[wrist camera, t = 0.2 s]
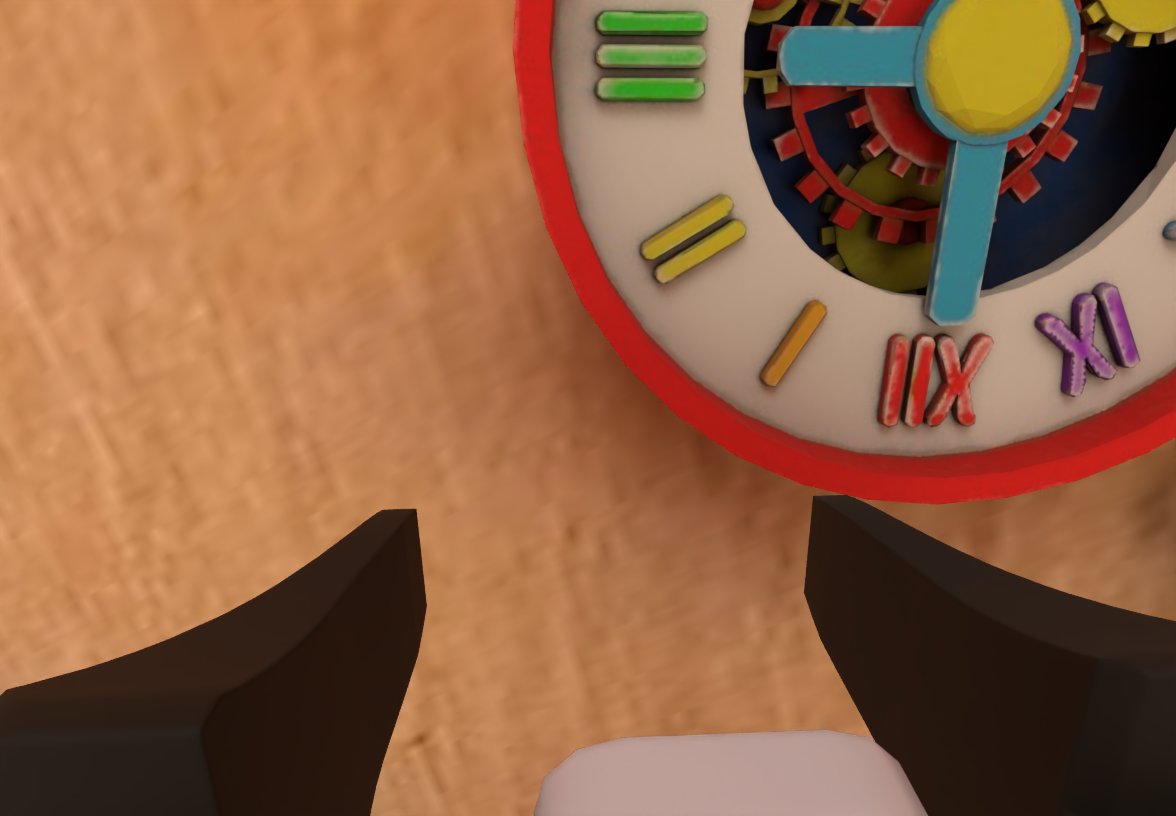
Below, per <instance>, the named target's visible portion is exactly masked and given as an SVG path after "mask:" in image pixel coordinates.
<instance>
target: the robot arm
mask: <svg viewBox="0 0 1176 816" xmlns="http://www.w3.org/2000/svg"><path fill="white" fill-rule="evenodd" d="M804 594H805V597H806V600H807V603H808V606H809V609H810V612H811V615H812V618H813V620H814V623H815V626H816V628H817V631H818V634H819V636H820V639H821V641H822V643H823V645H824V647H825V649H826V651H827V653H828V654H829V656H830V658H831V660H832V662H833V664H834V666H835V668H836V670H837V672H838V673H839V675H840V677H841V679H842V681H843V683H844V685H845V686H846V688H847V690H848V692H849V694H850V696H851V698H852V699H853V701H854V703H855V705H856V707H857V709H858V711H859V712H860V714H861V716H862V718H863V720H864V722H865V724H866V725H867V727H868V729H869V731H870V733H871V735H872V736H873V738H874V740H875V741H873V740H872V739H871V738H870V737H865V736H859V735H854V734H848V733H842V732H837V731H831V730H826V729H824V730H799V731H774V732H749V733H724V734H699V735H675V736H650V737H625V738H620V739H616V740H612V741H608V742H604V743H600V744H596V745H592V746H588V747H584V748H580V749H577V750H576V751H574V752H573V753H572V754H571V755H570V756H568V757H567V758H566V759H565V760H564V761H562V762H561V763H560V764H559V765H558V766H557V767H555V768H554V769H553V770H552V771H551V772H549V773H548V774H547V775H546V776H545V777H544V780H543V783H542V786H541V790H540V793H539V797H538V800H537V803H536V807H535V810H534V816H1176V621H1172V620H1167V619H1163V618H1158V617H1153V616H1149V615H1145V614H1141V613H1137V612H1133V611H1129V610H1125V609H1121V608H1117V607H1113V606H1109V605H1106V604H1103V603H1099V602H1096V601H1092V600H1089V599H1085V598H1082V597H1079V596H1075V595H1072V594H1068V593H1065V592H1062V591H1059V590H1056V589H1053V588H1050V587H1047V586H1044V585H1042V584H1039V583H1036V582H1034V581H1031V580H1028V579H1026V578H1023V577H1020V576H1018V575H1015V574H1012V573H1009V572H1007V571H1004V570H1002V569H1000V568H997V567H995V566H992V565H990V564H988V563H985V562H983V561H981V560H979V559H977V558H974V557H972V556H970V555H968V554H966V553H963V552H961V551H959V550H957V549H955V548H953V547H951V546H949V545H947V544H944V543H942V542H940V541H938V540H936V539H934V538H932V537H930V536H928V535H926V534H925V533H923V532H921V531H919V530H917V529H915V528H913V527H911V526H909V525H907V524H905V523H903V522H902V521H900V520H898V519H896V518H894V517H892V516H890V515H888V514H886V513H884V512H883V511H881V510H879V509H877V508H875V507H873V506H871V505H869V504H867V503H865V502H862V501H860V500H858V499H856V498H853V497H851V496H848V495H832V496H813V503H812V514H811V524H810V535H809V545H808V556H807V567H806V577H805V588H804ZM426 608H427V603H426V594H425V585H424V575H423V566H422V557H421V548H420V538H419V529H418V520H417V510H416V509H392V510H381V511H380V512H378V513H376V514H375V515H373V516H372V517H371V518H369V519H368V520H366V521H365V522H364V523H362V524H361V525H360V526H359V527H357V528H356V529H355V530H353V531H352V532H351V533H349V534H348V535H347V536H345V537H344V538H343V539H341V540H340V541H339V542H337V543H336V544H335V545H333V546H332V547H331V548H329V549H328V550H327V551H325V552H324V553H323V554H321V555H320V556H319V557H317V558H316V559H314V560H313V561H311V562H310V563H308V564H307V565H305V566H304V567H302V568H301V569H299V570H298V571H296V572H295V573H293V574H292V575H291V576H289V577H288V578H286V579H285V580H283V581H282V582H280V583H279V584H277V585H275V586H274V587H272V588H271V589H269V590H267V591H266V592H264V593H262V594H260V595H259V596H257V597H255V598H253V599H252V600H250V601H248V602H246V603H244V604H242V605H240V606H239V607H237V608H235V609H233V610H231V611H229V612H227V613H225V614H223V615H221V616H219V617H217V618H215V619H213V620H210V621H208V622H206V623H204V624H202V625H199V626H197V627H195V628H193V629H190V630H188V631H186V632H184V633H181V634H179V635H177V636H175V637H172V638H170V639H168V640H165V641H163V642H160V643H158V644H155V645H152V646H150V647H147V648H144V649H142V650H139V651H136V652H134V653H131V654H128V655H125V656H122V657H119V658H116V659H113V660H110V661H107V662H104V663H101V664H98V665H95V666H92V667H89V668H85V669H82V670H78V671H75V672H71V673H67V674H64V675H60V676H56V677H53V678H49V679H46V680H42V681H38V682H35V683H31V684H27V685H24V686H20V687H15V688H11V689H7V690H6V691H5V692H4V693H3V694H2V695H1V696H0V816H370V813H371V808H372V804H373V799H374V794H375V790H376V785H377V782H378V778H379V774H380V771H381V767H382V764H383V760H384V757H385V754H386V751H387V748H388V745H389V742H390V739H391V736H392V733H393V730H394V727H395V724H396V721H397V718H398V715H399V712H400V709H401V706H402V703H403V700H404V697H405V694H406V691H407V688H408V685H409V682H410V678H411V675H412V672H413V669H414V666H415V663H416V660H417V656H418V653H419V648H420V642H421V637H422V632H423V626H424V620H425V614H426Z"/></svg>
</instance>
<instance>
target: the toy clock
mask: <svg viewBox="0 0 1176 816" xmlns="http://www.w3.org/2000/svg"><path fill="white" fill-rule="evenodd" d="M513 56H514V64H515V73H516V81H517V90H518V98H519V107H520V115H521V124H522V132H523V141H524V147H525V150H526V154H527V158H528V162H529V165H530V169H531V173H532V176H533V180H534V184H535V187H536V191H537V195H538V199H539V202H540V206H541V210H542V213H543V217H544V221H545V225H546V228H547V230H548V232H549V235H550V237H551V239H552V241H553V243H554V245H555V247H556V249H557V252H558V254H559V256H560V258H561V260H562V262H563V264H564V266H565V269H566V271H567V273H568V275H569V277H570V279H571V281H572V283H573V286H574V288H575V290H576V292H577V294H578V296H579V298H580V300H581V302H582V304H583V305H584V307H585V308H586V310H587V311H588V312H589V314H590V315H591V317H592V318H593V319H594V321H595V322H596V324H597V325H598V327H599V328H600V329H601V331H602V332H603V334H604V335H605V337H606V338H607V339H608V341H609V342H610V344H611V345H612V346H613V348H614V349H615V351H616V352H617V354H618V355H619V356H620V358H621V359H622V361H623V362H624V364H625V365H626V366H627V367H628V368H629V369H630V370H631V371H632V372H633V373H634V374H635V375H636V376H637V377H638V378H639V379H640V380H641V381H642V382H643V383H644V384H645V385H646V386H647V387H648V388H649V389H651V390H652V391H653V392H654V393H655V394H656V395H657V396H658V397H659V398H660V399H661V400H662V401H663V402H664V403H665V404H666V405H667V406H668V407H669V408H670V409H671V410H672V411H673V412H674V413H675V414H676V415H677V416H678V417H680V418H681V419H683V420H684V421H686V422H687V423H689V424H690V425H691V426H693V427H694V428H696V429H697V430H699V431H700V432H702V433H703V434H705V435H706V436H708V437H709V438H711V439H712V440H714V441H715V442H717V443H718V444H719V445H721V446H722V447H724V448H725V449H727V450H728V451H730V452H731V453H733V454H734V455H736V456H738V457H740V458H742V459H745V460H747V461H749V462H752V463H754V464H756V465H758V466H761V467H763V468H765V469H768V470H770V471H772V472H774V473H777V474H779V475H781V476H784V477H786V478H788V479H790V480H793V481H795V482H797V483H800V484H803V485H807V486H811V487H816V488H820V489H824V490H829V491H833V492H837V493H841V494H846V495H850V496H854V497H859V498H863V499H867V500H881V501H895V502H909V503H923V504H946V503H957V502H967V501H977V500H987V499H998V498H1008V497H1012V496H1016V495H1020V494H1024V493H1028V492H1032V491H1037V490H1041V489H1045V488H1049V487H1053V486H1057V485H1061V484H1065V483H1069V482H1074V481H1077V480H1080V479H1082V478H1085V477H1088V476H1090V475H1093V474H1095V473H1098V472H1100V471H1103V470H1105V469H1108V468H1110V467H1113V466H1115V465H1118V464H1120V463H1123V462H1125V461H1128V460H1130V459H1133V458H1135V457H1138V456H1140V455H1143V454H1145V453H1148V452H1150V451H1152V450H1153V449H1155V448H1157V447H1159V446H1160V445H1162V444H1164V443H1166V442H1168V441H1169V440H1171V439H1173V438H1175V437H1176V0H516V4H515V22H514V39H513Z"/></svg>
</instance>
